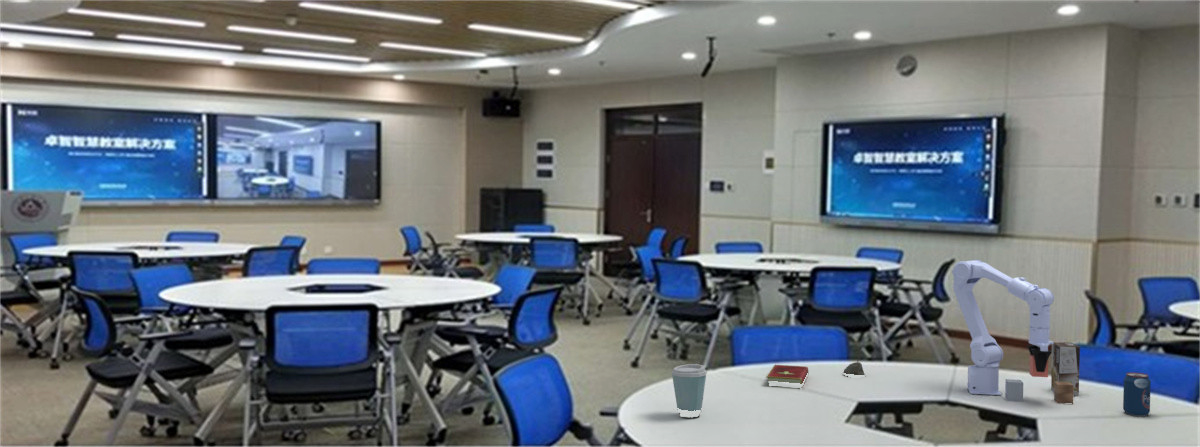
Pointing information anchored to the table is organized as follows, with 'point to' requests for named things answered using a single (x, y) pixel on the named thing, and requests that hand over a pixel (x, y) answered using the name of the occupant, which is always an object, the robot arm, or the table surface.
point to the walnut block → (1063, 392)
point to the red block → (1034, 372)
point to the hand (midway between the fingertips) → (1038, 370)
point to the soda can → (1136, 394)
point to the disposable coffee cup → (689, 386)
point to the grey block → (1014, 390)
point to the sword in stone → (855, 367)
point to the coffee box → (1065, 364)
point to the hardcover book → (788, 373)
